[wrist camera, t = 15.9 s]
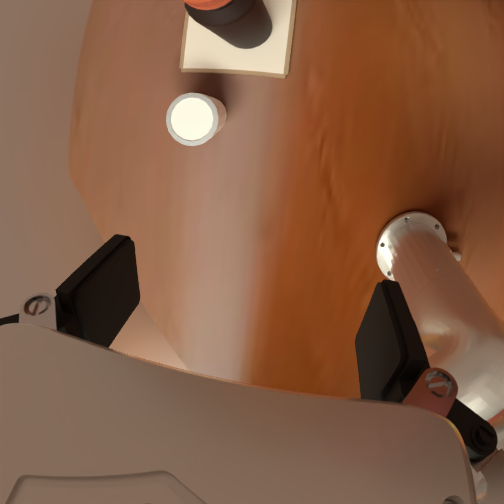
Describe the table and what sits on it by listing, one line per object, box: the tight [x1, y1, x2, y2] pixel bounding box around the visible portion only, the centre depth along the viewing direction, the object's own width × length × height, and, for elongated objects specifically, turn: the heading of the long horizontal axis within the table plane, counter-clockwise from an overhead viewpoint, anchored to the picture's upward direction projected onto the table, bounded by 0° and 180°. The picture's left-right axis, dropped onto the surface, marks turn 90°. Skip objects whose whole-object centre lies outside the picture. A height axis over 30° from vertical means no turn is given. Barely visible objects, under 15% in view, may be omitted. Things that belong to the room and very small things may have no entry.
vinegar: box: [182, 0, 272, 49], centre depth 24 cm, size 7×7×20 cm
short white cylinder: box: [166, 93, 227, 146], centre depth 38 cm, size 7×7×7 cm
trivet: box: [180, 0, 297, 79], centre depth 33 cm, size 15×15×1 cm
